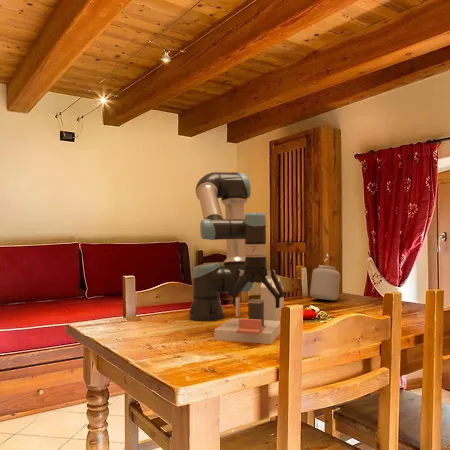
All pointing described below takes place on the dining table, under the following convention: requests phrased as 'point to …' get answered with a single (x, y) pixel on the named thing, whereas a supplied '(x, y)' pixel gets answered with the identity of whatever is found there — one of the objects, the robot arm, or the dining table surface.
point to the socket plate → (229, 334)
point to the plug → (256, 309)
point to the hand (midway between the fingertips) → (256, 316)
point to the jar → (325, 283)
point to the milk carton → (271, 300)
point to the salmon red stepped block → (250, 326)
